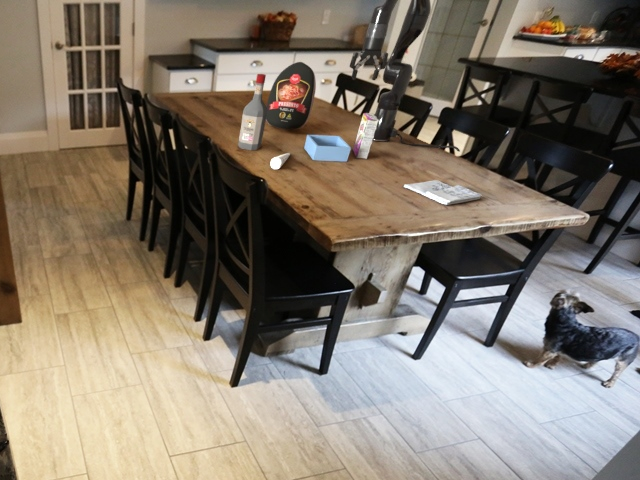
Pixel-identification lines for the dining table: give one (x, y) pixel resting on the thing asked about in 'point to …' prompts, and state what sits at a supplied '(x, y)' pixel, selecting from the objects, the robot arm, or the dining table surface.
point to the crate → (327, 148)
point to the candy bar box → (365, 135)
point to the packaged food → (291, 97)
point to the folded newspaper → (444, 192)
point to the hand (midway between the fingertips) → (363, 79)
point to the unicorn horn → (279, 161)
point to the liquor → (254, 119)
